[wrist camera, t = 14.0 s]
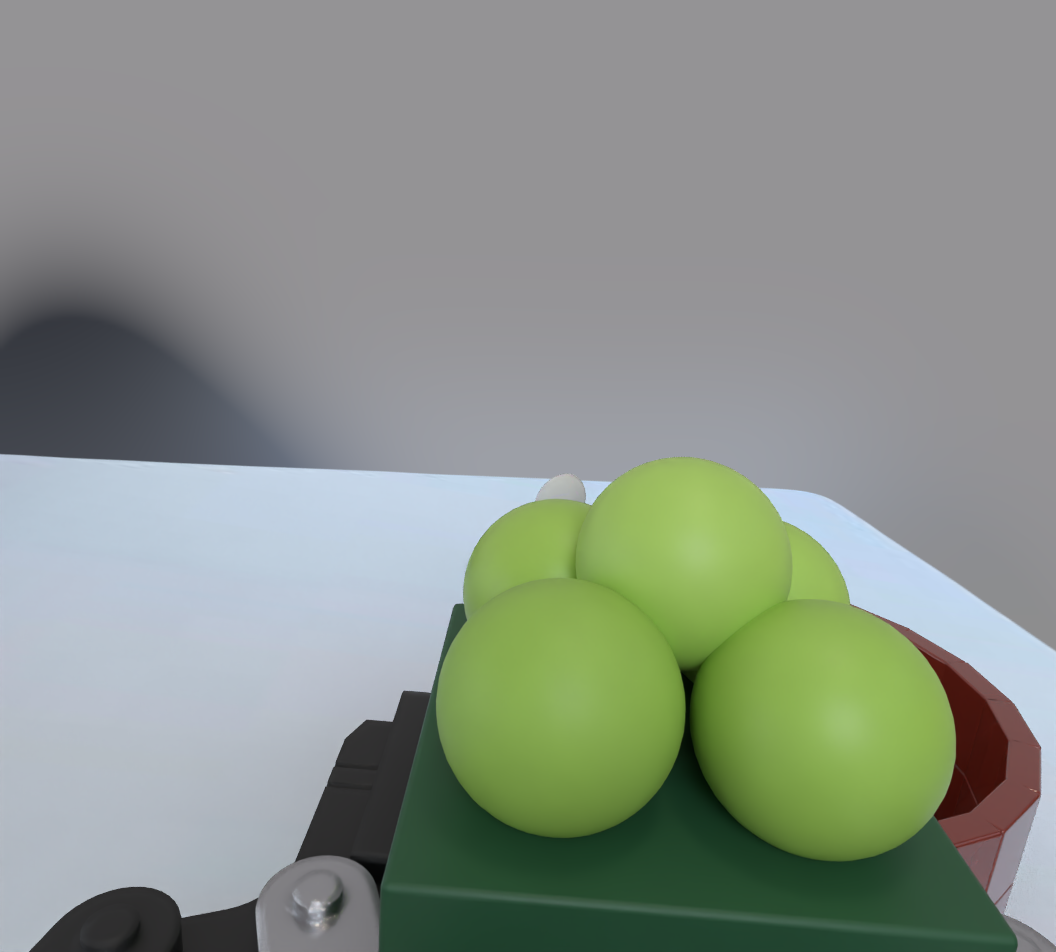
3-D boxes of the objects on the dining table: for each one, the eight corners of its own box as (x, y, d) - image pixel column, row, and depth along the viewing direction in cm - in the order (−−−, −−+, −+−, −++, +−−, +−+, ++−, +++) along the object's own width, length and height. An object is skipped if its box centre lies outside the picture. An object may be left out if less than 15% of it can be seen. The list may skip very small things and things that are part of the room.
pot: (962, 1206, 15) (1042, 977, 14) (414, 863, 23) (421, 687, 21) (997, 807, 27) (1042, 658, 26) (629, 667, 35) (644, 544, 33)
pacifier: (467, 560, 45) (511, 600, 40) (471, 458, 44) (518, 486, 39) (573, 547, 49) (626, 582, 44) (581, 451, 47) (637, 476, 42)
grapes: (834, 1499, 9) (1143, 593, 6) (359, 1460, 9) (391, 528, 6) (727, 1033, 14) (853, 426, 11) (429, 1007, 14) (466, 392, 11)
